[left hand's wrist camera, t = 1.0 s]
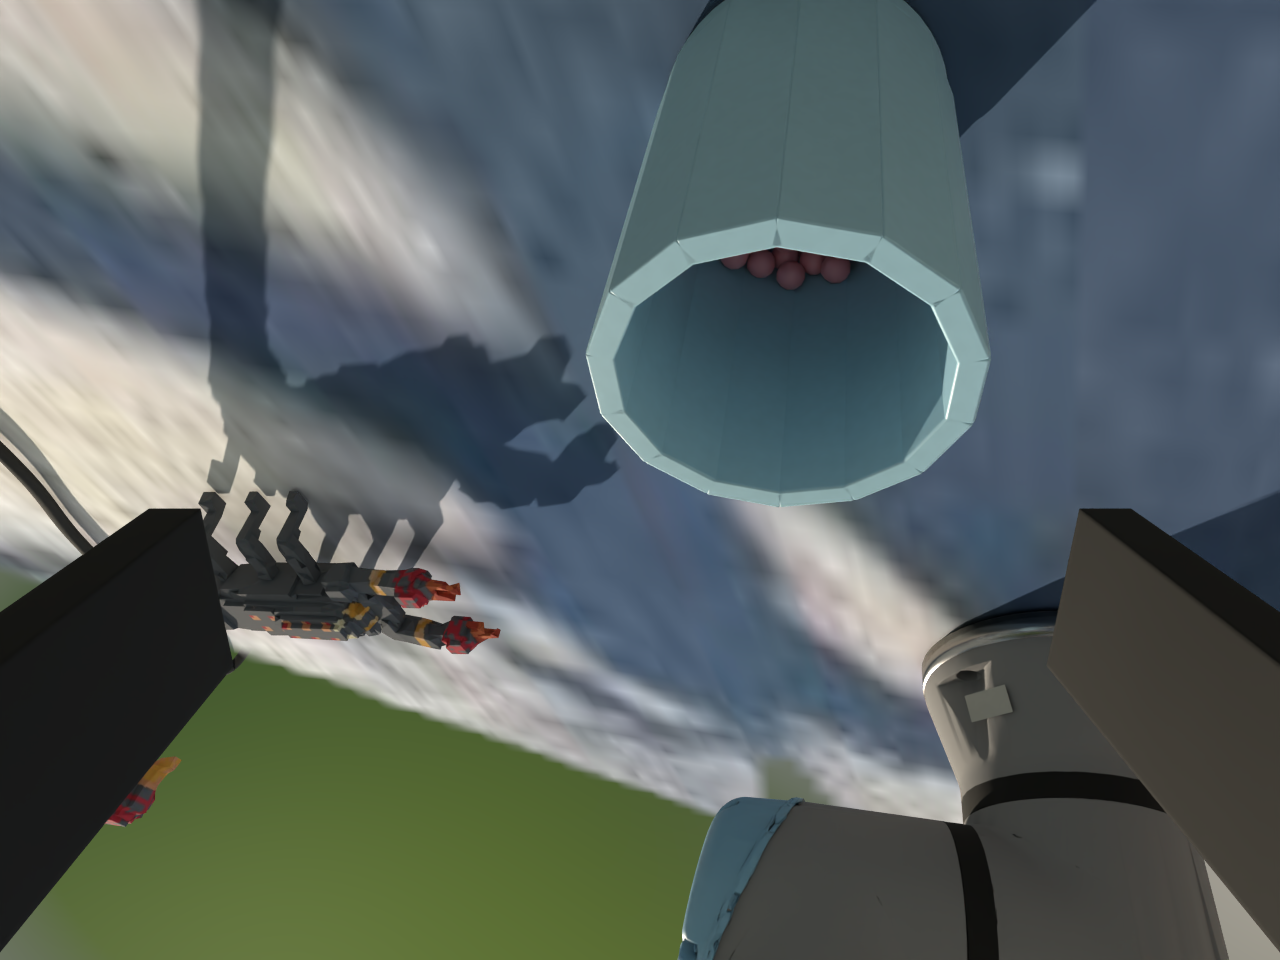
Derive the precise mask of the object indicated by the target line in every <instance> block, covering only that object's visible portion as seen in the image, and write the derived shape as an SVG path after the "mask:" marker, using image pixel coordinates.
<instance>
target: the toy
mask: <svg viewBox="0 0 1280 960" xmlns="http://www.w3.org/2000/svg"><path fill="white" fill-rule="evenodd" d="M244 503H245V504H246V505H247V506H248V508H249V509H250V510H251V513H250V515H249V517H248V518H247V520H246V522H245V524H244V526H243V527H242V529H241V531H240V533H239V534H238V536H237V538H236V544H237V546H238V548H239V550H240V551H241V553H242V554H243V555H244V557H245V558H246V561H247V562H248V563H249V564H241V565H240V566H238V565H237V564H235V563H234V562H233V561H232V560H231V559H229V558H228V557H227V556H226V554H227V552H228V551H227V550H226V549H225V548H224V547H222V546H221V545H220V544H219V543H218V542H217V541H216V540H215V539H214V538H213V537H212V536H211V535H212V533H213V531H214V530H215V528H216V526H217V524H218V522H219V521H220V519H221V517H222V514H223V511H224V508H225V505H226V503H225V502H224V501H223V500H222V499H221V498H220V497H219V496H218V495H217V494H216V493H215V492H204V493H203V495H202V497H201V499H200V501H199V503H198V504H199V505H200V506H201V507H202V508H203V509H204V510H205V511H206V512H207V514H206V516H205V518H204V520H203V523H204V528H205V533H206V537H207V542H208V547H209V552H210V557H211V561H212V566H213V571H214V576H215V580H216V585H217V590H218V595H219V599H220V604H221V609H222V614H223V618H224V623H225V628H226V630H232V629H236V628H243V629H250V630H255V631H267V632H268V633H269V634H271V635H289V636H290V637H291V638H304V639H323V640H340V641H347V640H348V639H350V638H359V636H365V634H367V635H368V636H373V635H379V634H380V633H381V630H382V633H384V634H386V635H387V636H389V637H391V638H392V639H394V640H399V641H404V642H409V643H413V644H417V645H421V646H426V647H430V648H435V649H441V646H444V645H446V648H447V649H448V650H449V651H450V652H451V653H452V654H469V652H470V651H471V650H473V649H474V648H475V647H476V646H477V645H478V644H479V643H481V642H483V641H484V640H486V639H488V638H498V637H499V634H500V629H498V628H497V629H486V628H484V622H474V621H473V620H472V619H471V617H462V616H453V617H452V618H451V621H449V622H446V623H444V624H442V623H439V622H436V621H433V620H429V619H425V618H421V617H416V616H410V615H405V611H404V610H403V609H402V608H401V606H402V607H403V608H421V607H422V606H424V605H428V602H429V601H431V600H441V601H455V598H456V595H461V593H460V584H459V583H457V584H453V585H448V584H447V583H446V582H443V581H437V580H432V579H431V577H432V576H431V574H430V573H429V572H428V571H426V570H423V569H420V568H411V569H407V570H389V571H385V570H374V569H363V568H358V567H357V566H356V564H355V563H354V562H352V563H316V562H315V560H314V559H313V558H312V557H311V555H310V554H309V552H308V551H307V550H306V549H305V548H304V546H303V545H302V544H301V543H300V541H299V540H298V539H299V536H300V533H301V531H300V530H299V529H298V528H299V526H300V524H301V522H302V520H303V518H304V515H305V513H306V511H307V509H308V503H307V502H306V501H305V499H304V498H303V497H302V496H301V495H300V494H299V492H298V491H289V494H288V497H287V500H286V506H287V507H288V509H289V510H290V511H291V513H290V514H289V516H288V518H287V520H286V522H285V524H284V526H283V528H282V530H281V531H280V533H279V535H278V537H277V545H278V549H279V551H280V552H281V553H282V555H283V556H284V557H285V559H286V561H287V562H288V563H277V562H276V561H275V560H274V558H273V557H272V556H271V554H270V553H269V552H268V551H267V549H266V548H265V547H264V545H263V544H262V543H261V542H260V541H259V540H258V539H259V536H260V533H261V531H260V530H259V529H258V528H259V526H260V524H261V523H262V521H263V519H264V517H265V515H266V514H267V512H268V510H269V508H270V505H269V504H268V502H267V501H266V500H265V499H264V498H263V497H262V496H261V495H260V494H259V493H258V492H249V494H248V496H247V498H246V500H245V502H244ZM180 762H181V760H180V759H179V758H177V757H167V758H161V759H159V760H158V761H156V762H155V763H154V764H153V765H152V767H151V768H150V769H149V770H148V771H147V773H146V774H145V775H144V776H143V778H142V779H141V780H140V781H139V782H138V784H137V785H136V786H135V787H134V789H133V790H132V791H131V792H130V793H129V795H128V796H127V797H126V798H125V800H124V801H123V802H122V803H121V805H120V806H119V807H118V808H117V809H116V811H115V812H114V813H113V814H112V816H111V817H110V818H109V819H108V820H107V822H106V823H105V824H111V825H118V826H124V827H126V826H127V824H128V823H130V824H131V823H132V822H133V821H134V819H137V818H141V817H142V816H143V814H144V813H146V811H147V810H148V809H149V808H150V806H151V805H152V803H153V802H154V800H155V791H156V788H157V786H158V784H159V783H160V782H161V781H162V780H163V779H164V777H165V776H166V775H167V774H168V773H169V772H171V771H173V770H174V769H175V768H176V767H177V766H178V764H179V763H180Z"/></svg>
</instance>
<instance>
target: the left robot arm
mask: <svg viewBox="0 0 1280 960" xmlns="http://www.w3.org/2000/svg"><path fill="white" fill-rule="evenodd" d="M232 667H233V661H232V656H231V652H230V647H229V642H228V637H227V633H226V628H225V623H224V618H223V614H222V609H221V604H220V599H219V595H218V590H217V585H216V580H215V576H214V571H213V566H212V561H211V557H210V552H209V547H208V542H207V537H206V533H205V528H204V523H203V518H202V514H201V509H148V510H146V511H145V512H144V513H142V514H141V515H139V516H138V517H136V518H135V519H134V520H132V521H131V522H129V523H128V524H126V525H125V526H123V527H122V528H121V529H119V530H118V531H116V532H115V533H113V534H112V535H111V536H109V537H108V538H106V539H105V540H103V541H102V542H100V543H99V544H98V545H96V546H95V547H93V548H92V549H90V550H89V551H88V552H86V553H85V554H83V555H82V556H80V557H79V558H77V559H76V560H75V561H73V562H72V563H70V564H69V565H67V566H66V567H65V568H63V569H62V570H60V571H59V572H57V573H56V574H54V575H53V576H52V577H50V578H49V579H47V580H46V581H44V582H43V583H42V584H40V585H39V586H37V587H36V588H34V589H33V590H31V591H30V592H29V593H27V594H26V595H24V596H23V597H21V598H20V599H19V600H17V601H16V602H14V603H13V604H11V605H10V606H8V607H7V608H6V609H4V610H3V611H1V612H0V952H1V950H2V949H3V948H4V947H5V946H6V944H7V943H8V942H9V941H10V939H11V938H12V937H13V936H14V935H15V933H16V932H17V931H18V930H19V928H20V927H21V926H22V925H23V924H24V922H25V921H26V920H27V919H28V917H29V916H30V915H31V914H32V912H33V911H34V910H35V909H36V908H37V906H38V905H39V904H40V903H41V901H42V900H43V899H44V898H45V897H46V895H47V894H48V893H49V892H50V890H51V889H52V888H53V887H54V885H55V884H56V883H57V882H58V881H59V879H60V878H61V877H62V876H63V874H64V873H65V872H66V871H67V870H68V868H69V867H70V866H71V865H72V863H73V862H74V861H75V860H76V859H77V857H78V856H79V855H80V854H81V852H82V851H83V850H84V849H85V847H86V846H87V845H88V844H89V843H90V841H91V840H92V839H93V838H94V836H95V835H96V834H97V833H98V832H99V830H100V829H101V828H102V827H103V825H104V824H105V823H106V822H107V820H108V819H109V818H110V817H111V816H112V814H113V813H114V812H115V811H116V809H117V808H118V807H119V806H120V805H121V803H122V802H123V801H124V800H125V798H126V797H127V796H128V795H129V793H130V792H131V791H132V790H133V789H134V787H135V786H136V785H137V784H138V782H139V781H140V780H141V779H142V778H143V776H144V775H145V774H146V773H147V771H148V770H149V769H150V768H151V767H152V765H153V764H154V763H155V762H156V760H157V759H158V758H159V757H160V755H161V754H162V753H163V752H164V751H165V749H166V748H167V747H168V746H169V744H170V743H171V742H172V741H173V740H174V738H175V737H176V736H177V735H178V733H179V732H180V731H181V730H182V728H183V727H184V726H185V725H186V724H187V722H188V721H189V720H190V719H191V717H192V716H193V715H194V714H195V713H196V711H197V710H198V709H199V708H200V706H201V705H202V704H203V703H204V701H205V700H206V699H207V698H208V697H209V695H210V694H211V693H212V692H213V690H214V689H215V688H216V687H217V686H218V684H219V683H220V682H221V681H222V679H223V678H224V677H225V676H226V674H227V673H228V672H229V671H230V670H231V668H232ZM922 678H923V693H924V697H925V700H926V704H927V707H928V710H929V712H930V715H931V717H932V720H933V722H934V725H935V727H936V729H937V732H938V734H939V737H940V739H941V742H942V744H943V747H944V749H945V752H946V754H947V757H948V759H949V761H950V764H951V766H952V769H953V771H954V774H955V776H956V779H957V781H958V784H959V787H960V791H961V802H962V813H963V824H958V823H950V822H944V821H937V820H930V819H923V818H916V817H909V816H902V815H895V814H888V813H881V812H873V811H866V810H859V809H852V808H845V807H838V806H831V805H824V804H816V803H809V802H805V801H804V799H802V798H791V799H790V800H788V801H787V800H775V799H763V798H752V797H740V798H736V799H733V800H731V801H729V802H728V803H726V804H725V805H724V806H723V807H722V808H721V809H720V810H719V812H718V813H717V815H716V816H715V818H714V820H713V822H712V824H711V826H710V828H709V830H708V833H707V836H706V839H705V842H704V845H703V848H702V851H701V854H700V858H699V861H698V865H697V869H696V872H695V876H694V880H693V884H692V888H691V892H690V896H689V901H688V905H687V910H686V914H685V920H684V925H683V930H682V937H683V942H682V943H681V946H680V952H679V957H678V960H1229V957H1228V953H1227V950H1226V945H1225V942H1224V938H1223V934H1222V930H1221V926H1220V922H1219V918H1218V914H1217V910H1216V906H1215V902H1214V898H1213V894H1212V890H1211V886H1210V882H1209V878H1208V874H1207V870H1206V866H1205V862H1204V860H1205V861H1206V862H1207V863H1208V865H1209V866H1210V867H1211V868H1212V870H1213V871H1214V872H1215V873H1216V874H1217V876H1218V877H1219V878H1220V879H1221V881H1222V882H1223V883H1224V884H1225V885H1226V887H1227V888H1228V889H1229V890H1230V892H1231V893H1232V894H1233V895H1234V896H1235V898H1236V899H1237V900H1238V901H1239V903H1240V904H1241V905H1242V906H1243V908H1244V909H1245V910H1246V911H1247V912H1248V914H1249V915H1250V916H1251V917H1252V919H1253V920H1254V921H1255V922H1256V924H1257V925H1258V926H1259V927H1260V928H1261V930H1262V931H1263V932H1264V933H1265V935H1266V936H1267V937H1268V938H1269V939H1270V941H1271V942H1272V943H1273V944H1274V946H1275V947H1276V948H1277V949H1278V950H1279V952H1280V612H1279V611H1277V610H1276V609H1274V608H1273V607H1272V606H1270V605H1269V604H1267V603H1266V602H1264V601H1263V600H1261V599H1260V598H1259V597H1257V596H1256V595H1254V594H1253V593H1251V592H1250V591H1249V590H1247V589H1246V588H1244V587H1243V586H1241V585H1240V584H1238V583H1237V582H1236V581H1234V580H1233V579H1231V578H1230V577H1228V576H1227V575H1226V574H1224V573H1223V572H1221V571H1220V570H1218V569H1217V568H1215V567H1214V566H1213V565H1211V564H1210V563H1208V562H1207V561H1205V560H1204V559H1203V558H1201V557H1200V556H1198V555H1197V554H1195V553H1194V552H1192V551H1191V550H1190V549H1188V548H1187V547H1185V546H1184V545H1182V544H1181V543H1180V542H1178V541H1177V540H1175V539H1174V538H1172V537H1171V536H1169V535H1168V534H1167V533H1165V532H1164V531H1162V530H1161V529H1159V528H1158V527H1157V526H1155V525H1154V524H1152V523H1151V522H1149V521H1148V520H1146V519H1145V518H1144V517H1142V516H1141V515H1139V514H1138V513H1136V512H1135V511H1134V510H1132V509H1079V514H1078V518H1077V523H1076V528H1075V533H1074V537H1073V542H1072V547H1071V552H1070V557H1069V561H1068V566H1067V571H1066V576H1065V580H1064V585H1063V590H1062V595H1061V599H1060V604H1059V609H1058V611H1038V612H1027V613H1019V614H1012V615H1006V616H1001V617H996V618H992V619H988V620H984V621H981V622H978V623H975V624H972V625H969V626H966V627H964V628H961V629H959V630H957V631H955V632H953V633H951V634H949V635H948V636H946V637H944V638H943V639H941V640H940V641H938V642H937V643H936V644H935V645H934V646H933V647H932V648H931V649H930V650H929V651H928V653H927V654H926V656H925V658H924V660H923V664H922Z"/></svg>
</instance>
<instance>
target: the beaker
mask: <svg viewBox="0 0 1280 960" xmlns="http://www.w3.org/2000/svg"><path fill="white" fill-rule="evenodd" d="M775 247H780V248H785V249H791V250H797V251H803V252H808V253H814V254H820V255H826V256H832V257H837V258H843V259H848V260H849V262H850V263H851V268H850V273H849V275H848V277H847V279H845V280H844V281H842V282H841V283H830V282H828V281H827V280H825V279H824V277H823V276H822V274H821V273H820V274H818V275H809V274H807V273H806V272H805V279H804V281H803V283H802V285H801V286H800V287H798V288H797V289H795V290H786V289H784V288H783V287H781V286H780V285H779V283H778V282H777V280H776V274H777V271H778V269H777V268H776V267H775V268H774V270H773V272H772V274H770V275H769V276H767V277H766V278H757V277H755V276H753V275H751V273H750V272H749V270H748V269H747V262H746V264H745V265H744V266H742V267H741V268H739V269H732V270H731V269H729V268H727V267H725V266H724V265H723V263H722V262H721V260H720V259H722V258H727V257H732V256H737V255H741V254H746V253H751V252H756V251H761V250H765V249H766V250H768V251H769V252H771V253H772V251H773V249H774V248H775ZM747 260H748V259H747ZM798 263H800V256H799V261H798ZM990 355H991V353H990V346H989V339H988V332H987V325H986V318H985V311H984V304H983V297H982V290H981V283H980V276H979V270H978V263H977V256H976V249H975V242H974V235H973V228H972V221H971V214H970V207H969V200H968V193H967V186H966V179H965V172H964V166H963V159H962V152H961V145H960V138H959V131H958V124H957V117H956V110H955V103H954V96H953V93H952V90H951V88H950V85H949V82H948V79H947V74H946V68H945V64H944V61H943V58H942V55H941V52H940V49H939V47H938V45H937V43H936V41H935V39H934V37H933V35H932V33H931V31H930V30H929V28H928V27H927V26H926V24H925V23H924V21H923V20H922V19H921V17H920V16H919V15H918V14H917V13H916V12H915V11H914V10H913V9H912V8H911V7H910V6H909V5H908V4H907V3H906V2H905V1H904V0H724V1H723V2H722V3H721V4H719V5H718V6H717V7H715V8H714V9H713V10H712V11H711V12H710V13H709V14H708V15H707V16H706V17H705V18H704V19H703V20H702V21H701V22H700V23H699V24H698V26H697V27H696V28H695V30H694V31H693V32H692V34H691V35H690V36H689V37H688V39H687V40H686V42H685V44H684V46H683V47H682V49H681V50H680V52H679V54H678V56H677V59H676V61H675V64H674V66H673V69H672V71H671V74H670V77H669V81H668V84H667V87H666V90H665V93H664V96H663V98H662V101H661V104H660V107H659V110H658V113H657V116H656V119H655V123H654V126H653V129H652V133H651V136H650V139H649V143H648V146H647V149H646V153H645V156H644V159H643V163H642V166H641V169H640V173H639V176H638V180H637V183H636V186H635V190H634V193H633V196H632V200H631V203H630V206H629V210H628V213H627V216H626V220H625V223H624V226H623V230H622V233H621V236H620V240H619V243H618V246H617V250H616V253H615V256H614V260H613V263H612V266H611V270H610V273H609V276H608V280H607V283H606V286H605V290H604V293H603V296H602V300H601V303H600V307H599V310H598V313H597V317H596V320H595V323H594V327H593V330H592V333H591V337H590V340H589V343H588V347H587V350H586V358H587V362H588V366H589V370H590V374H591V378H592V382H593V386H594V390H595V394H596V398H597V402H598V406H599V410H600V413H601V414H602V416H603V417H604V418H605V420H606V421H607V422H608V423H609V424H610V425H611V426H612V427H613V428H614V429H615V431H616V432H617V433H618V434H619V435H620V436H621V437H622V438H623V439H624V440H625V441H626V443H627V444H628V445H629V446H630V447H631V448H632V449H633V450H634V451H635V452H636V454H637V455H638V456H639V457H640V458H641V459H642V460H643V461H644V462H646V463H648V464H650V465H652V466H654V467H656V468H657V469H659V470H661V471H663V472H665V473H667V474H669V475H671V476H673V477H675V478H677V479H679V480H681V481H683V482H685V483H687V484H689V485H691V486H693V487H695V488H697V489H699V490H701V491H703V492H705V493H708V494H709V495H715V496H720V497H726V498H731V499H737V500H742V501H747V502H753V503H758V504H764V505H769V506H775V507H779V506H781V507H786V506H797V505H809V504H820V503H831V502H843V501H852V500H854V499H855V500H857V499H860V498H862V497H865V496H867V495H870V494H872V493H875V492H877V491H880V490H882V489H885V488H887V487H889V486H892V485H894V484H897V483H899V482H902V481H904V480H907V479H909V478H912V477H914V476H917V475H919V474H921V473H922V472H924V471H926V470H927V469H928V468H929V467H930V466H931V465H932V464H933V463H934V462H935V461H936V460H937V459H938V458H939V457H940V456H941V455H942V454H943V453H944V452H945V451H946V450H947V449H948V448H949V447H950V446H951V445H953V444H954V443H955V442H956V441H957V440H958V439H959V438H960V437H961V436H962V435H963V434H964V433H965V432H966V431H967V430H968V429H969V428H970V427H971V426H972V424H973V423H974V421H975V419H976V415H977V411H978V407H979V404H980V400H981V396H982V392H983V388H984V384H985V381H986V377H987V373H988V369H989V365H990V361H991V356H990Z"/></svg>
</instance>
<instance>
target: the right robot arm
mask: <svg viewBox="0 0 1280 960" xmlns="http://www.w3.org/2000/svg"><path fill="white" fill-rule="evenodd" d="M0 462H1V463H2V464H3V465H4V466H5V467H6V468H7V469H8V470H9V471H10V472H11V473H12V474H13V475H14V476H15V477H16V478H17V479H18V480H19V481H20V482H21V483H22V484H23V485H24V486H25V487H26V489H27V490H28V491H29V492H30V493H31V494H32V496H33V497H34V498H35V499H36V500H37V502H38V503H39V504H40V506H41V507H42V508H43V509H44V511H45V512H46V513H47V515H48V516H49V517H50V519H51V520H52V521H53V522H54V524H55V525H56V526H57V527H58V529H59V530H60V531H61V532H62V533H63V534H64V536H65V537H66V538H67V539H68V540H69V541H70V542H71V543H72V544H73V545H74V546H75V547H76V548H77V549H78V551H79V552H80V553H81V554H82V555H83V554H85V553H86V552H88V551H89V550H90V549H92V548H93V547H92V546H91V544H90V543H89V542H88V541H87V540H86V539H85V538H84V537H83V536H82V535H81V533H80V532H79V531H78V530H77V529H76V528H75V526H74V525H73V524H72V523H71V522H70V520H69V519H68V518H67V516H66V515H65V514H64V512H63V511H62V510H61V508H60V507H59V505H58V504H57V503H56V501H55V500H54V499H53V497H52V496H51V495H50V494H49V492H48V491H47V490H46V488H45V487H44V486H43V485H42V484H41V482H40V481H39V480H38V479H37V478H36V477H35V476H34V475H33V474H32V472H31V471H30V470H29V469H28V468H27V467H26V466H25V465H24V464H23V463H22V462H21V461H20V460H19V459H18V458H17V457H16V456H15V455H14V454H13V453H12V452H11V451H10V450H9V449H8V448H7V447H6V446H5V445H4V444H3V443H2V442H1V441H0ZM249 653H250V652H247V651H244V650H241V649H240V651H239V652H238V654H237V655H236V656H235V658H234V659H233V660H232V661H233V667H232V668H231V670H230V671H229V672H228V673H227V674H229V673H231V672H233V671H234V670H235V669H237V668H238V667H239V666H240V665H241V664H242V662H243V661H244V660H245V659H246V657H247V656H248V654H249ZM227 674H226V675H227Z"/></svg>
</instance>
